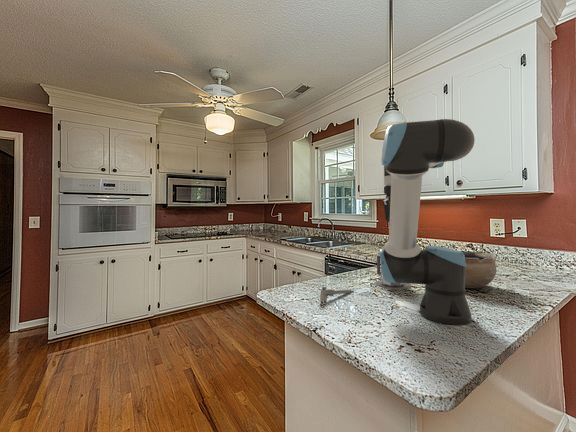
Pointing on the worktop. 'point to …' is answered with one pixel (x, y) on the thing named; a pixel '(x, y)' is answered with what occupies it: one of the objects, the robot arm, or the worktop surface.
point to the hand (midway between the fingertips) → (392, 236)
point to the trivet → (393, 287)
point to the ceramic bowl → (479, 269)
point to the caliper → (331, 293)
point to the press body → (385, 283)
